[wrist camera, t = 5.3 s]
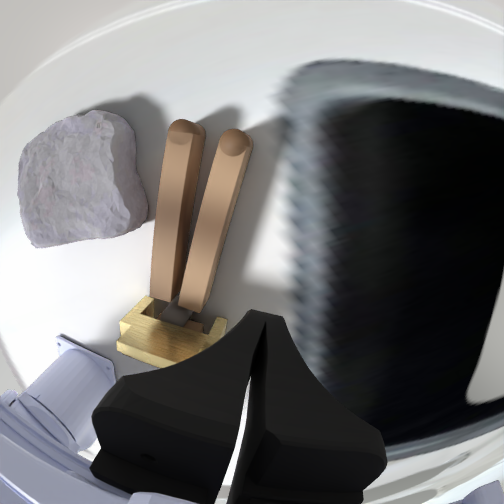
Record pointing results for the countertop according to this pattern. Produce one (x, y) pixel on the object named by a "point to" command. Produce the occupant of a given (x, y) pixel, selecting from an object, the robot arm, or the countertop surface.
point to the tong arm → (215, 217)
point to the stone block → (81, 181)
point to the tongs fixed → (176, 219)
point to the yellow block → (162, 337)
